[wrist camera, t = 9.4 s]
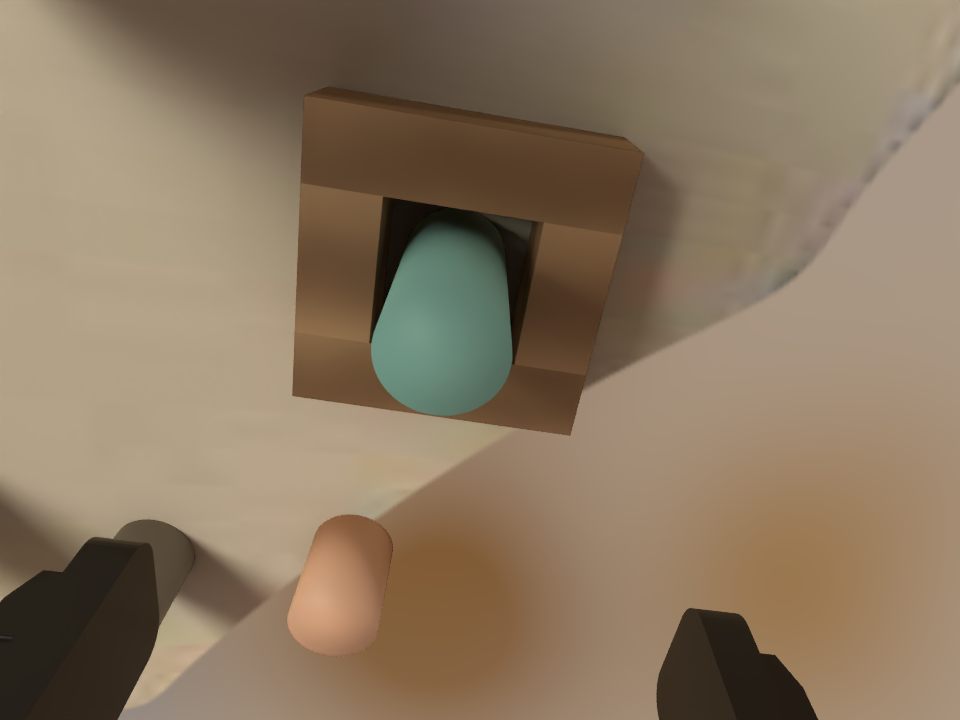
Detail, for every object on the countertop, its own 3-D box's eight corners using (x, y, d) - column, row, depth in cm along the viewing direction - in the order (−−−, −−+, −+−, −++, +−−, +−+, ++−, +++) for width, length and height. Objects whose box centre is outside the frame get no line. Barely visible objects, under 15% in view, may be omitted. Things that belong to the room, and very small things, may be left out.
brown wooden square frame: (327, 86, 24) (303, 95, 21) (624, 137, 25) (644, 153, 22) (313, 356, 29) (292, 395, 26) (561, 392, 30) (570, 435, 26)
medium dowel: (412, 200, 26) (378, 278, 18) (513, 216, 26) (524, 301, 18) (401, 295, 28) (365, 405, 20) (496, 310, 28) (499, 424, 20)
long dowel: (112, 514, 33) (-94, 779, 21) (193, 525, 33) (34, 793, 22) (118, 574, 35) (-68, 848, 23) (195, 584, 35) (50, 860, 23)
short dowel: (316, 509, 33) (288, 586, 28) (396, 520, 33) (382, 597, 29) (312, 570, 35) (285, 650, 30) (388, 579, 35) (374, 661, 30)
